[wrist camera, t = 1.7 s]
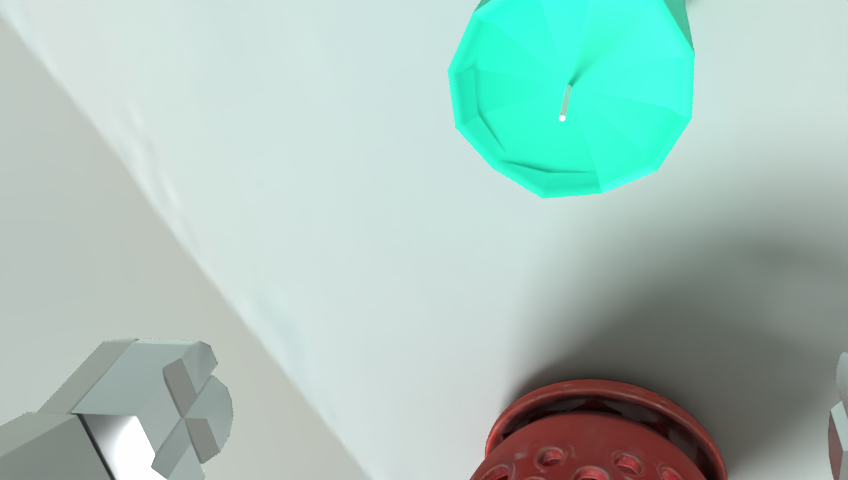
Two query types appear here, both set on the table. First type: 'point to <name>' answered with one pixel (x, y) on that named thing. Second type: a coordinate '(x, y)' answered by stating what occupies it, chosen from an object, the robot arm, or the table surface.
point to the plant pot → (598, 437)
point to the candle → (574, 90)
